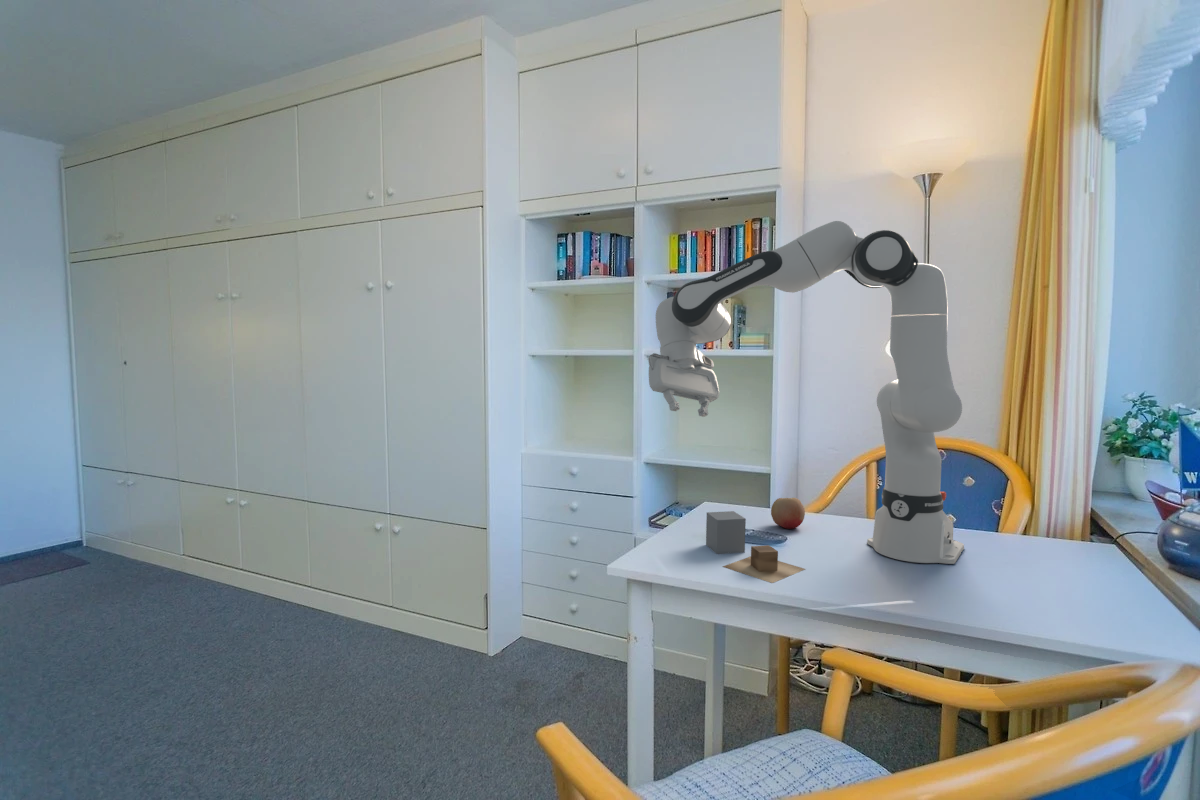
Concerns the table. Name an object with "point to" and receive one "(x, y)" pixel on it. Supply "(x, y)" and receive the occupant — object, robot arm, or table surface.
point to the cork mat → (769, 576)
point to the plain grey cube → (725, 532)
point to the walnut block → (764, 558)
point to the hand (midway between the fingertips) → (689, 413)
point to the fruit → (788, 512)
